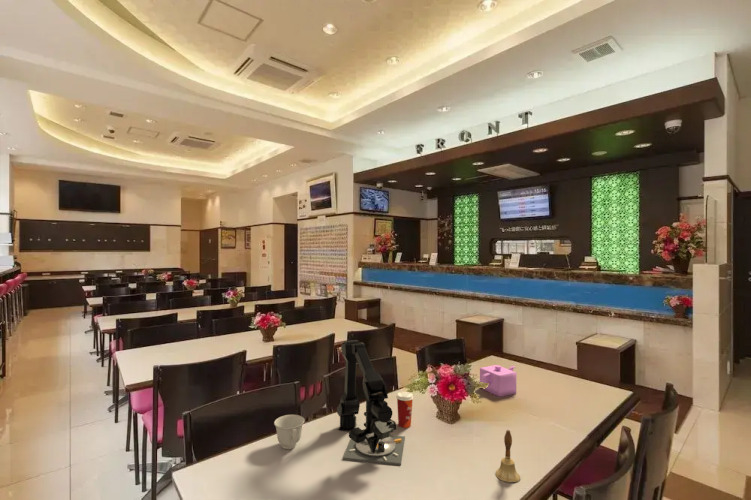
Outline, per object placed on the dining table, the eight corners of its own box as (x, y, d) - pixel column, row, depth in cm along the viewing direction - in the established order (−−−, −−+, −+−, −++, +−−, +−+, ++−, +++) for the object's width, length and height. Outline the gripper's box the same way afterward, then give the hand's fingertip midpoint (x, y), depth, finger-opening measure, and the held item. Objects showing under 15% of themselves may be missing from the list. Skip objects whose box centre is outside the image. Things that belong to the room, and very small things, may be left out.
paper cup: (412, 429, 166) (412, 398, 166) (394, 428, 168) (395, 396, 168) (413, 421, 174) (414, 391, 174) (397, 420, 176) (397, 390, 176)
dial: (350, 439, 155) (350, 429, 155) (386, 433, 161) (386, 423, 161) (363, 460, 140) (363, 449, 140) (402, 452, 146) (402, 441, 146)
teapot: (525, 391, 214) (525, 366, 214) (492, 398, 202) (492, 372, 202) (504, 382, 227) (505, 359, 227) (473, 389, 216) (473, 364, 216)
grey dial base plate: (343, 459, 143) (343, 454, 143) (353, 433, 162) (353, 429, 162) (400, 465, 139) (400, 460, 139) (404, 438, 159) (404, 434, 159)
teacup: (279, 460, 142) (279, 434, 142) (270, 442, 155) (271, 417, 155) (310, 452, 147) (310, 427, 147) (299, 435, 160) (299, 412, 160)
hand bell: (491, 469, 137) (492, 426, 137) (513, 468, 138) (514, 425, 138) (501, 483, 129) (501, 437, 129) (524, 482, 130) (525, 436, 130)
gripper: (365, 426, 131) (364, 470, 131) (406, 412, 142) (405, 453, 142) (348, 414, 140) (347, 456, 140) (387, 402, 151) (387, 441, 151)
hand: (372, 451), depth 143 cm, fingers closed
